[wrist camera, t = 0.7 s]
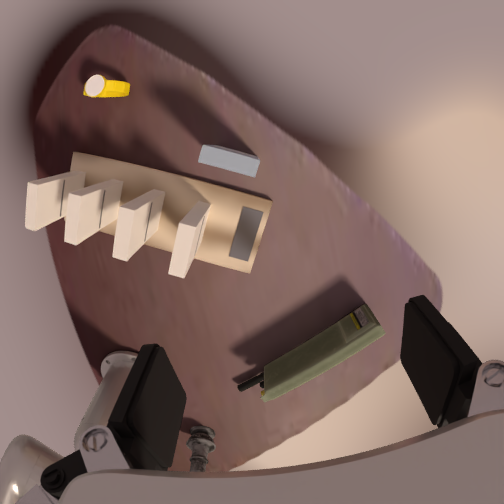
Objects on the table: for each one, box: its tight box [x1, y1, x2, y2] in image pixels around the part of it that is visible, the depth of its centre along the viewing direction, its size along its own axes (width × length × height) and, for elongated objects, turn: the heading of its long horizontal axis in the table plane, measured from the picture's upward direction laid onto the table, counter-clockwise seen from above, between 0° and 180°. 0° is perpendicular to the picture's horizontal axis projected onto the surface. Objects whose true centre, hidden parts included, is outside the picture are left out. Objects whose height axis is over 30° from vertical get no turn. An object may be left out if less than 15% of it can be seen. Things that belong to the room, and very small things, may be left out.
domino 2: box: [64, 179, 124, 245], centre depth 31 cm, size 2×5×11 cm, turn 163°
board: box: [64, 152, 273, 273], centre depth 38 cm, size 10×28×1 cm, turn 73°
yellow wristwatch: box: [84, 75, 130, 97], centre depth 30 cm, size 6×3×6 cm, turn 83°
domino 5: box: [198, 145, 260, 177], centre depth 31 cm, size 2×5×11 cm, turn 73°
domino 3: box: [112, 189, 166, 261], centre depth 32 cm, size 2×5×11 cm, turn 164°
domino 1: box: [25, 170, 86, 231], centre depth 31 cm, size 2×5×11 cm, turn 163°
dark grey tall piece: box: [186, 426, 216, 472], centre depth 48 cm, size 6×6×12 cm
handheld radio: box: [238, 304, 385, 402], centre depth 43 cm, size 7×3×25 cm
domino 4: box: [168, 201, 211, 278], centre depth 33 cm, size 2×5×11 cm, turn 163°
